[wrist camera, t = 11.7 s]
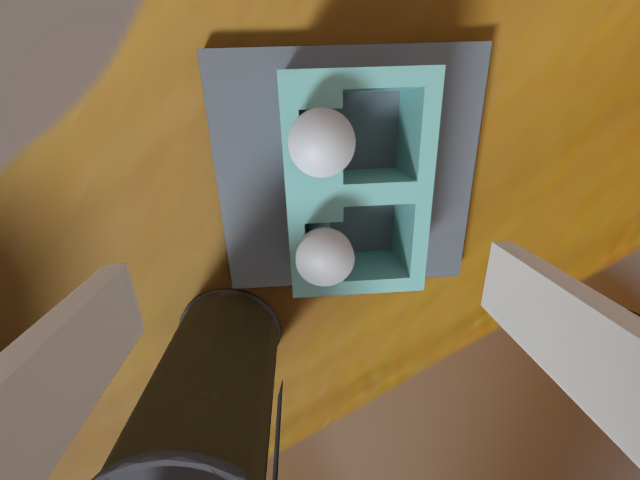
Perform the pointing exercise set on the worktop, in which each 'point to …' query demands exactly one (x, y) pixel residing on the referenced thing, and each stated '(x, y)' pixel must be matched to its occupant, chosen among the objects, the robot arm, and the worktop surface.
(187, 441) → the canister
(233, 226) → the board
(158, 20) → the worktop surface
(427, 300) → the worktop surface
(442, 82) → the teal breeze block
